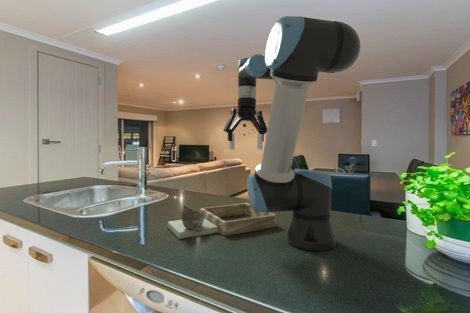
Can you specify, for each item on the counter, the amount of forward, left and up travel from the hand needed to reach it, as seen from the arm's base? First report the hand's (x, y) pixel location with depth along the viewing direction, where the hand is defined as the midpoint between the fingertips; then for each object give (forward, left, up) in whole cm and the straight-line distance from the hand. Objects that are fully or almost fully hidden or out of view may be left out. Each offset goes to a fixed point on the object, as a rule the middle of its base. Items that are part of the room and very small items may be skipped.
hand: (246, 149), depth 114 cm
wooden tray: (-5, +7, -29) cm, 30 cm away
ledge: (-5, +26, -29) cm, 39 cm away
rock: (-10, +26, -27) cm, 39 cm away
